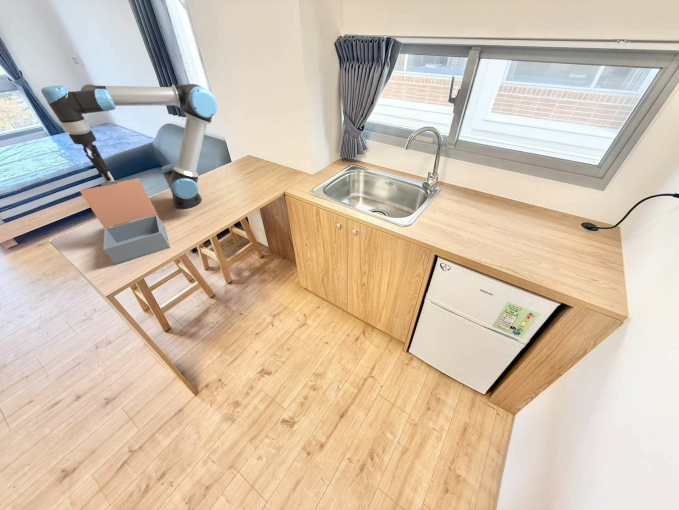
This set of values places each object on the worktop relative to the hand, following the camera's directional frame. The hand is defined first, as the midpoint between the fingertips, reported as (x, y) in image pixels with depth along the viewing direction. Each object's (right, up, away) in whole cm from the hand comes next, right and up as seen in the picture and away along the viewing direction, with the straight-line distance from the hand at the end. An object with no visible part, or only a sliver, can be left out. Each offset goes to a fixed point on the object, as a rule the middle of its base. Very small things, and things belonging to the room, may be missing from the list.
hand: (113, 185), depth 121 cm
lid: (+3, -8, 0) cm, 8 cm away
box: (+9, -27, +6) cm, 29 cm away
